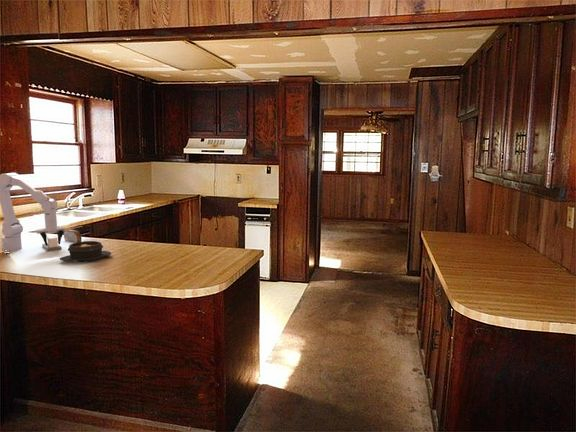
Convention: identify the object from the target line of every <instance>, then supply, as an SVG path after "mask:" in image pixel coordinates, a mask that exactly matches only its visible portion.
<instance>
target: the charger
mask: <svg viewBox="0 0 576 432" xmlns="http://www.w3.org/2000/svg"><path fill="white" fill-rule="evenodd" d="M47 243H48V246H49V248H53V247H58V245H59V244H58V236H57V237H56V236H48V237H47Z"/></svg>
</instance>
